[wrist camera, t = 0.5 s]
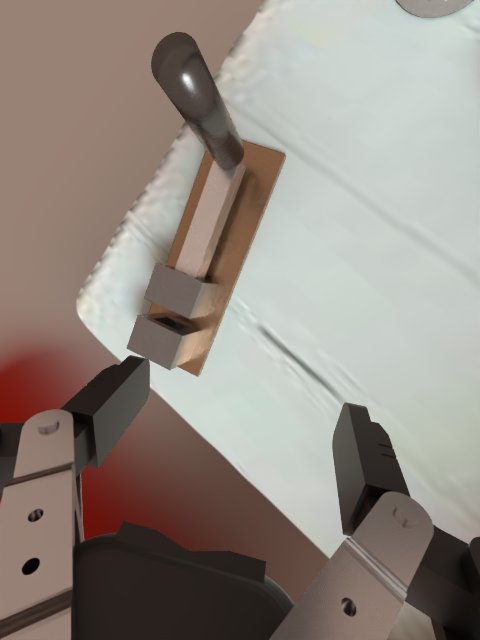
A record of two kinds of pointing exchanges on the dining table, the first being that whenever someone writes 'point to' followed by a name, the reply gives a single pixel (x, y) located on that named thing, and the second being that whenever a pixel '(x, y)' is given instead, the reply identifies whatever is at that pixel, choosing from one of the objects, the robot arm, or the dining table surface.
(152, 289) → the shaft bracket
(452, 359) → the dining table surface
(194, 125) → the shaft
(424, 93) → the dining table surface
